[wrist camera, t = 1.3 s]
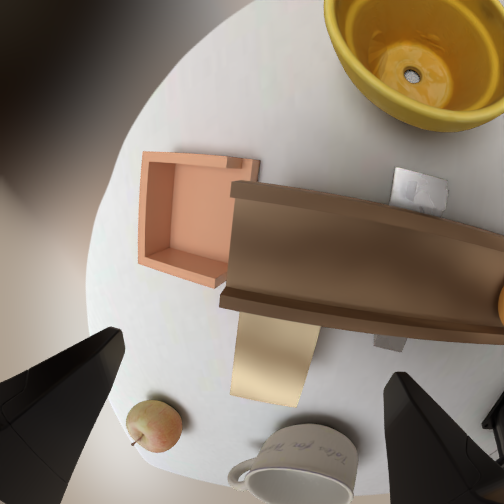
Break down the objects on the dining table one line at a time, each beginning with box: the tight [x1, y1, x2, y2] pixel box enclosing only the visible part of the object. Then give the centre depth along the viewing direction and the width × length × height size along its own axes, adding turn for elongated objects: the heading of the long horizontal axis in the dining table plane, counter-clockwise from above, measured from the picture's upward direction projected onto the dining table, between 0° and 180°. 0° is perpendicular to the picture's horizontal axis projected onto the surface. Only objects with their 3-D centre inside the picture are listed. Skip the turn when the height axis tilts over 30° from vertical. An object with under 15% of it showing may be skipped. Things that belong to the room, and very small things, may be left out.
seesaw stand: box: [374, 167, 449, 352], centre depth 17 cm, size 12×4×5 cm, turn 172°
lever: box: [219, 180, 504, 408], centre depth 16 cm, size 15×22×3 cm
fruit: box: [126, 400, 182, 453], centre depth 31 cm, size 8×7×8 cm
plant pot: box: [324, 0, 504, 132], centre depth 12 cm, size 10×10×10 cm
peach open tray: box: [138, 151, 260, 289], centre depth 23 cm, size 10×9×4 cm
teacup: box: [228, 424, 358, 504], centre depth 24 cm, size 14×11×8 cm
